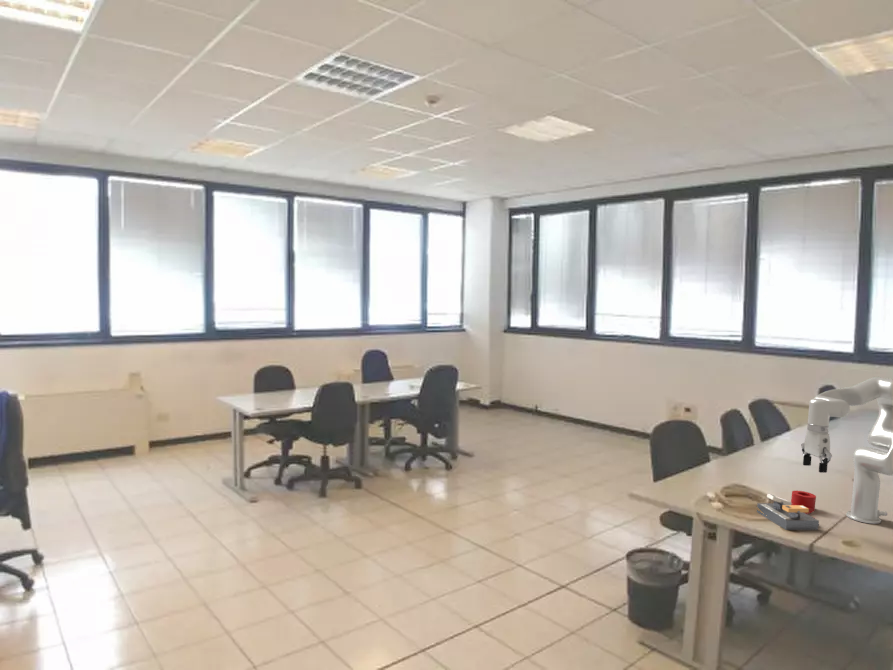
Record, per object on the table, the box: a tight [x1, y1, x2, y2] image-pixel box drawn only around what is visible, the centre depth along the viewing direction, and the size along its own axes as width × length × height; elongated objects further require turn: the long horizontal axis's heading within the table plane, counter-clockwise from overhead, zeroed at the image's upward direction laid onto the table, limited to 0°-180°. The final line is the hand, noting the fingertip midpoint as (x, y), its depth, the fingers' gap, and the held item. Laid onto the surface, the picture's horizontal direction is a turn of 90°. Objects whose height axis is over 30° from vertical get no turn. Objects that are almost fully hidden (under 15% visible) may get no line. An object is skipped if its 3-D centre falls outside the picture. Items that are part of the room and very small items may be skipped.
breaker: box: [766, 493, 791, 505], centre depth 264 cm, size 9×5×2 cm, turn 96°
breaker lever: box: [782, 505, 809, 513], centre depth 253 cm, size 9×5×2 cm, turn 95°
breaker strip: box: [756, 500, 820, 531], centre depth 258 cm, size 14×20×6 cm
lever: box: [790, 490, 817, 515], centre depth 271 cm, size 18×9×7 cm, turn 143°
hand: (814, 468), depth 253 cm, fingers open, 9 cm apart
